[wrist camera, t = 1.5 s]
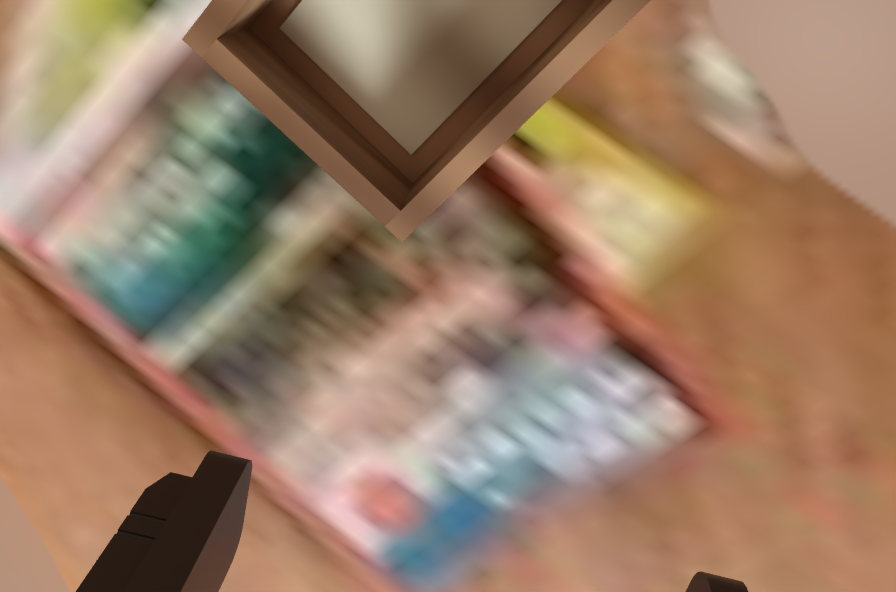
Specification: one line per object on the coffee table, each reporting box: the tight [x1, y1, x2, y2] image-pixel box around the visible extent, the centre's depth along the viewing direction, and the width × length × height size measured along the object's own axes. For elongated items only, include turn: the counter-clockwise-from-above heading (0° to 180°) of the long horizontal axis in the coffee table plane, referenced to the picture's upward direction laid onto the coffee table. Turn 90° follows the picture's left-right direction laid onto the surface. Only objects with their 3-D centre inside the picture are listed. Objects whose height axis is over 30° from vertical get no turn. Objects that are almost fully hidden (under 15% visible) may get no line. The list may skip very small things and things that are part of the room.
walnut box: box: [182, 0, 650, 242], centre depth 32 cm, size 15×12×5 cm
